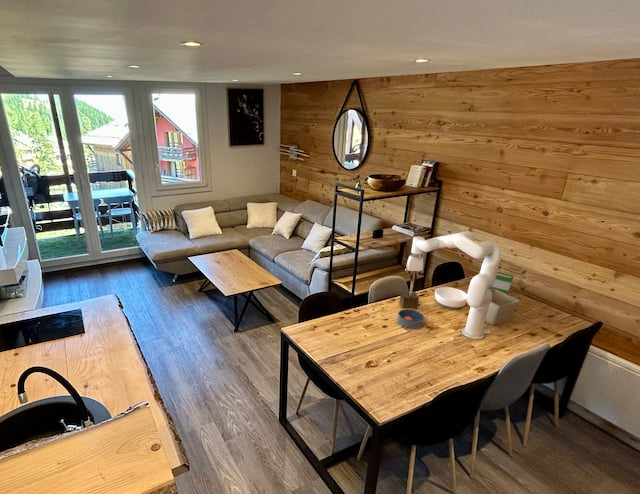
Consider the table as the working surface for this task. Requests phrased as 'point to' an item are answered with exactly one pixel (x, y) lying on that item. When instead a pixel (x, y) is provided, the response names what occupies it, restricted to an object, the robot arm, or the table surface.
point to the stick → (412, 284)
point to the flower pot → (500, 307)
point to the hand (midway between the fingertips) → (412, 279)
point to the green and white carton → (502, 282)
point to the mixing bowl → (415, 315)
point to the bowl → (450, 298)
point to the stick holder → (409, 300)
